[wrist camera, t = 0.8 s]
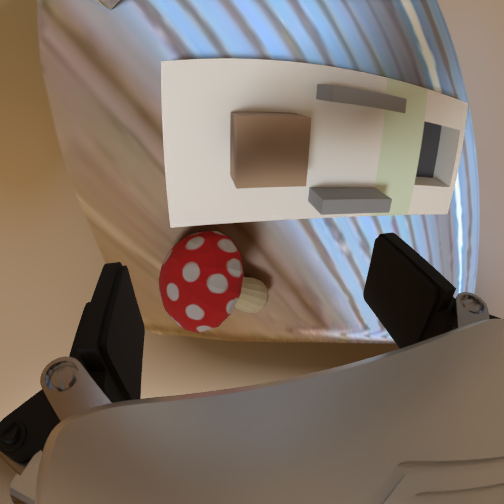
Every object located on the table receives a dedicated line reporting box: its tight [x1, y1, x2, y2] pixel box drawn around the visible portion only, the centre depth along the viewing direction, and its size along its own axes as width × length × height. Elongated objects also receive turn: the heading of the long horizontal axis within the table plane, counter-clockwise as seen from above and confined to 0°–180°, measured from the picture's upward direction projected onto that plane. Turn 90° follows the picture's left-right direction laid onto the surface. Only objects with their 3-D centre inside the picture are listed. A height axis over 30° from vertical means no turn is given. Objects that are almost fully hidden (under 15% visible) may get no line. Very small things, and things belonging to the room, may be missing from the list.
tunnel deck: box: [161, 58, 468, 228], centre depth 28 cm, size 16×36×8 cm, turn 89°
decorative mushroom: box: [159, 231, 268, 333], centre depth 34 cm, size 11×11×15 cm
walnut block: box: [230, 112, 311, 189], centre depth 25 cm, size 6×6×4 cm
